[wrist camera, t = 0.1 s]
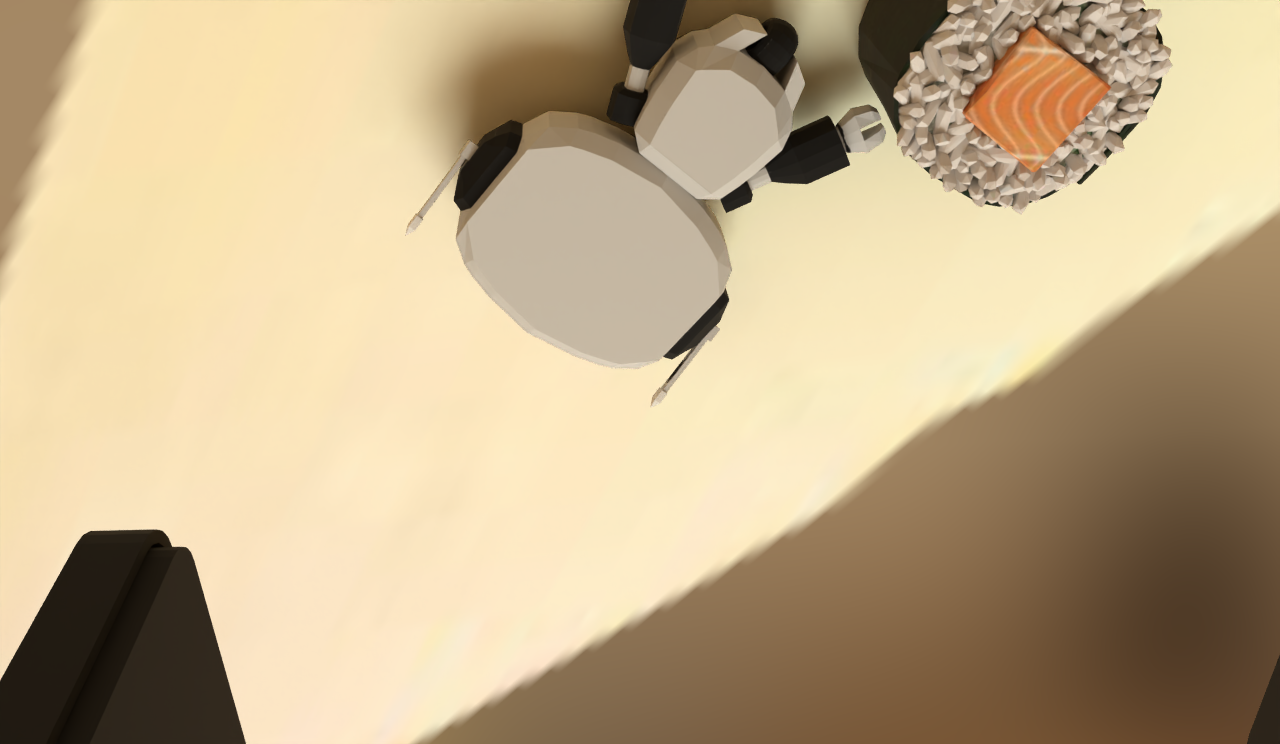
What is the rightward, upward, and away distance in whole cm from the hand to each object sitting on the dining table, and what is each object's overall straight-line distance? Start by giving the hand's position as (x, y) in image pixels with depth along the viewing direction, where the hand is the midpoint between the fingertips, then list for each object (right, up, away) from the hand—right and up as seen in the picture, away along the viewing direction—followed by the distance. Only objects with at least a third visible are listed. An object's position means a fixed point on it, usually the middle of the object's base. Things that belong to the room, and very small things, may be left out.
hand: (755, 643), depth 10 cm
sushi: (+11, +15, +34) cm, 39 cm away
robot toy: (-1, +11, +37) cm, 39 cm away
